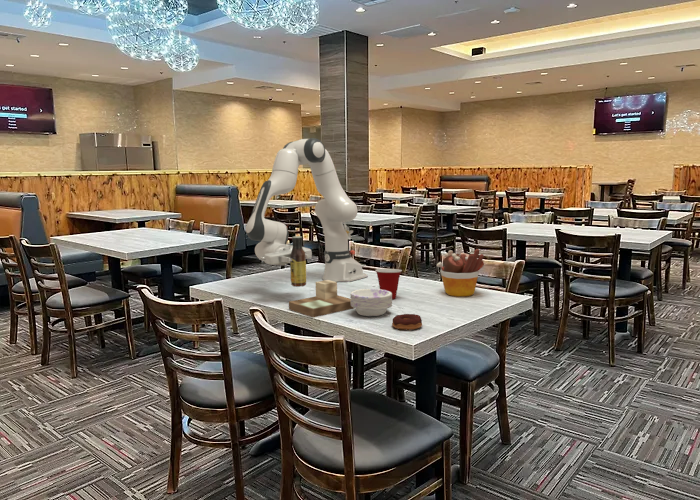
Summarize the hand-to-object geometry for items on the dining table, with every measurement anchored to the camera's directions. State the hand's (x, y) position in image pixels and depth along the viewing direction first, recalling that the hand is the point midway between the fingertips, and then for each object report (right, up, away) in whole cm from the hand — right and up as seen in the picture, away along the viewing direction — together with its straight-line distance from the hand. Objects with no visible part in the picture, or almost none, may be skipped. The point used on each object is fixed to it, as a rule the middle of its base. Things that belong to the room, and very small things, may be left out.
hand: (298, 258), depth 213 cm
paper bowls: (+28, -20, -16) cm, 38 cm away
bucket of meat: (+66, -15, +11) cm, 69 cm away
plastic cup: (+36, -17, +7) cm, 40 cm away
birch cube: (+11, -15, -2) cm, 19 cm away
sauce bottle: (0, -11, +2) cm, 11 cm away
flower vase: (+14, -7, +76) cm, 78 cm away
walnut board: (+10, -19, -8) cm, 23 cm away
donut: (+39, -23, -34) cm, 57 cm away
